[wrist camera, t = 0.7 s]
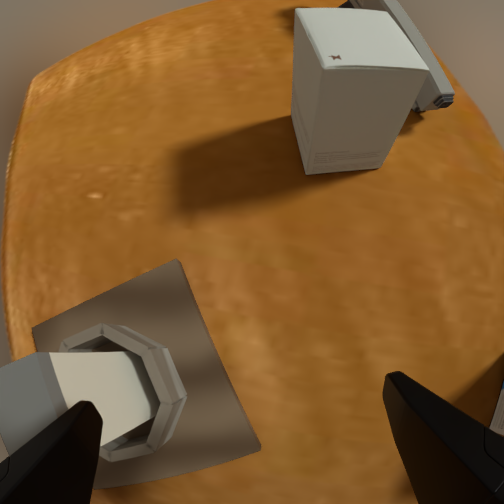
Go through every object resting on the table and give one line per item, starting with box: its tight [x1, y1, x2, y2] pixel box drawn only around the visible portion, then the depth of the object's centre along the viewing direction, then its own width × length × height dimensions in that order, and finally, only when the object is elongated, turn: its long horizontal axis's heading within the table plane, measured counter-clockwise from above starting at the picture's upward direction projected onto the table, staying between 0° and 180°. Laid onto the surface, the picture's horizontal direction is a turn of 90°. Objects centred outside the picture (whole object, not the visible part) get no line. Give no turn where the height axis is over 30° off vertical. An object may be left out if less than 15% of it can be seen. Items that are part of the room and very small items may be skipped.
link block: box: [0, 351, 161, 456], centre depth 16 cm, size 5×5×12 cm
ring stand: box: [32, 259, 261, 490], centre depth 21 cm, size 16×16×5 cm
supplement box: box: [291, 8, 429, 175], centre depth 21 cm, size 7×7×13 cm
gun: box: [337, 0, 455, 112], centre depth 28 cm, size 2×25×10 cm, turn 15°
